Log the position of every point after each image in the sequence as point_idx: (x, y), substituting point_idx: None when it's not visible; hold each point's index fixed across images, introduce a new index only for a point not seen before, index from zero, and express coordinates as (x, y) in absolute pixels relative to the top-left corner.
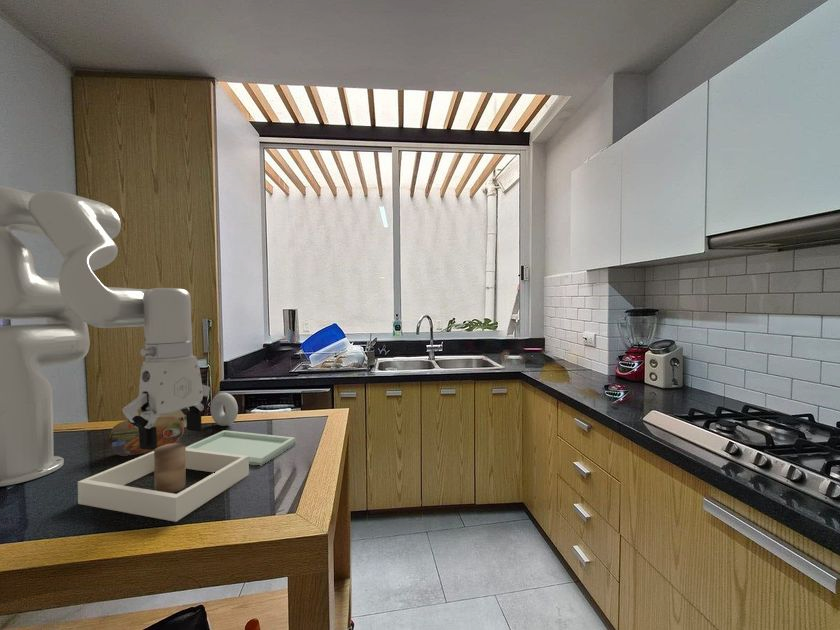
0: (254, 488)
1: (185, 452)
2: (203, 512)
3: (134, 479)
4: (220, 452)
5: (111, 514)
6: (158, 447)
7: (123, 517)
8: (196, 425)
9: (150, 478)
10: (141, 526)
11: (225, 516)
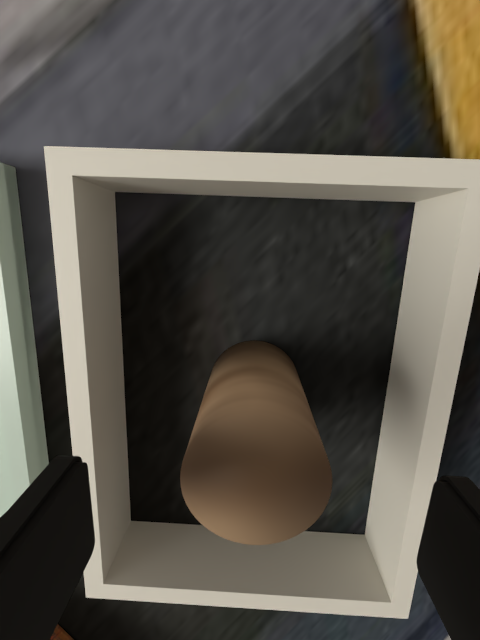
0: (184, 55)
1: (100, 488)
2: (375, 131)
3: None
4: (9, 391)
5: None
6: (264, 542)
7: None
8: (65, 505)
9: None
10: None
11: (390, 16)
